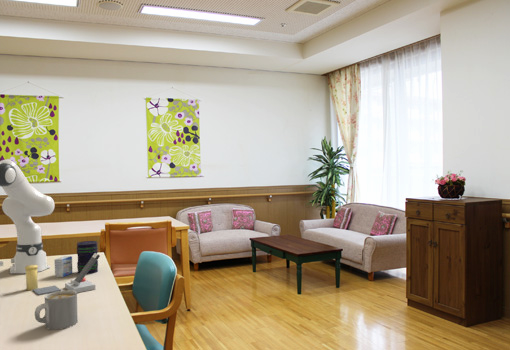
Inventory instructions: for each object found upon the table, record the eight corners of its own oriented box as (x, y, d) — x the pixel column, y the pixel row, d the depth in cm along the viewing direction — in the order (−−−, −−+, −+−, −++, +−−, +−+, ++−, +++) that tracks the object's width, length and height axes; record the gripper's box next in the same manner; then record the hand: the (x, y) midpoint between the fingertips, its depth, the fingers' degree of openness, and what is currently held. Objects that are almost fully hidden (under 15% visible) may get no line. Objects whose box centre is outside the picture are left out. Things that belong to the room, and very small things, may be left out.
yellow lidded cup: (24, 288, 192) (23, 266, 192) (36, 286, 195) (36, 264, 195) (27, 291, 188) (26, 268, 188) (39, 289, 192) (39, 266, 191)
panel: (65, 287, 193) (64, 280, 193) (85, 283, 199) (85, 276, 199) (74, 293, 184) (73, 285, 184) (95, 289, 190) (95, 281, 190)
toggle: (71, 282, 190) (94, 252, 197) (74, 284, 191) (96, 254, 197) (75, 284, 187) (98, 254, 193) (78, 286, 188) (100, 256, 194)
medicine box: (62, 277, 211) (62, 259, 211) (54, 277, 212) (54, 259, 212) (72, 273, 219) (72, 256, 219) (64, 273, 220) (64, 255, 220)
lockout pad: (32, 290, 189) (32, 289, 189) (54, 286, 195) (54, 285, 195) (38, 295, 182) (38, 293, 182) (61, 291, 188) (61, 289, 188)
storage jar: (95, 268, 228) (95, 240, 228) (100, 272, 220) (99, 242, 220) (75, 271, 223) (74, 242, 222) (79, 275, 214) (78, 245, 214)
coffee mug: (73, 316, 155) (72, 288, 155) (81, 324, 147) (80, 295, 147) (31, 325, 147) (30, 296, 147) (37, 334, 139) (36, 303, 139)
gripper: (-36, 263, 167) (5, 257, 176) (-43, 255, 183) (-5, 250, 191) (-35, 279, 167) (6, 273, 176) (-42, 270, 183) (-4, 265, 192)
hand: (0, 261), depth 184 cm, fingers open, 8 cm apart
